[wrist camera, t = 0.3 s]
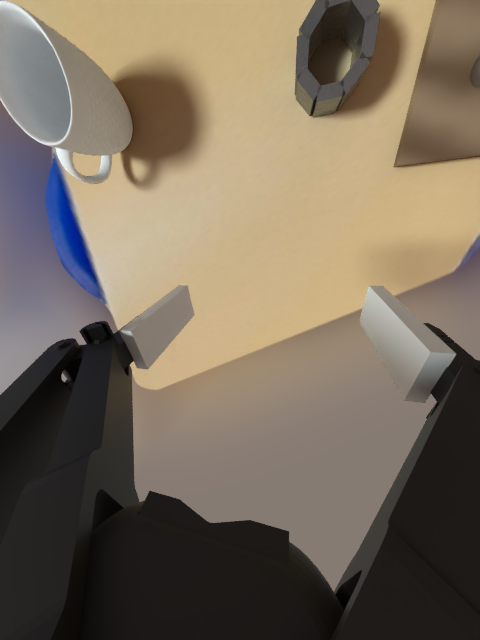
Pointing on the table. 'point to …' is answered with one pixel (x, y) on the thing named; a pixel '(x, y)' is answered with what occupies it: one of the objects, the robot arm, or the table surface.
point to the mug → (59, 93)
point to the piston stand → (446, 89)
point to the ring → (326, 23)
